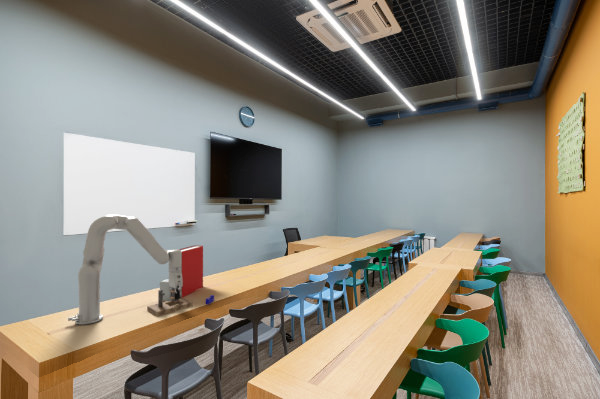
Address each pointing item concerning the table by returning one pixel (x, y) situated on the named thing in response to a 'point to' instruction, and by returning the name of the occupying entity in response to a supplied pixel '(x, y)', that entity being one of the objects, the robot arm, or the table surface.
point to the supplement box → (165, 289)
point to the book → (191, 269)
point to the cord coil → (173, 294)
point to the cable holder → (210, 299)
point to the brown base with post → (167, 305)
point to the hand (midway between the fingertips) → (175, 297)
